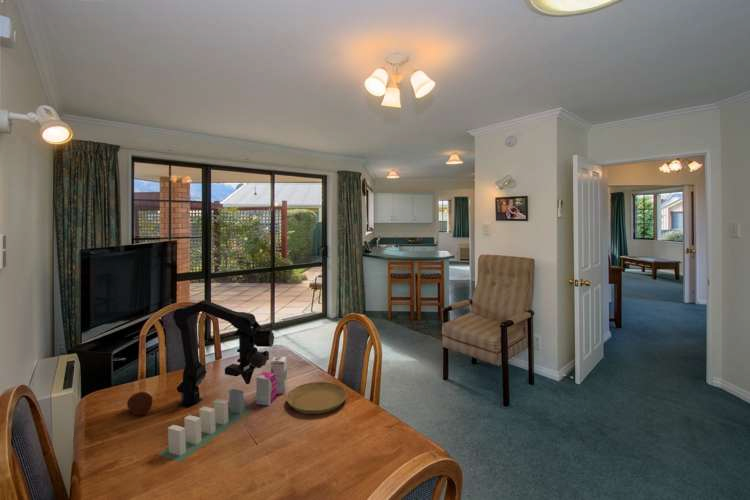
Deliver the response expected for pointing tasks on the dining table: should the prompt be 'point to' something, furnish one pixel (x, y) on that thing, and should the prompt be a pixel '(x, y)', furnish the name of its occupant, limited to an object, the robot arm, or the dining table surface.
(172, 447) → the domino
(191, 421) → the domino
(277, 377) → the syrup box
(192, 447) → the strip
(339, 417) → the dining table surface
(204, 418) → the domino
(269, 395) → the supplement box
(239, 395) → the slate domino
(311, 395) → the plant saucer
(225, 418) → the domino
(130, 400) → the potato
